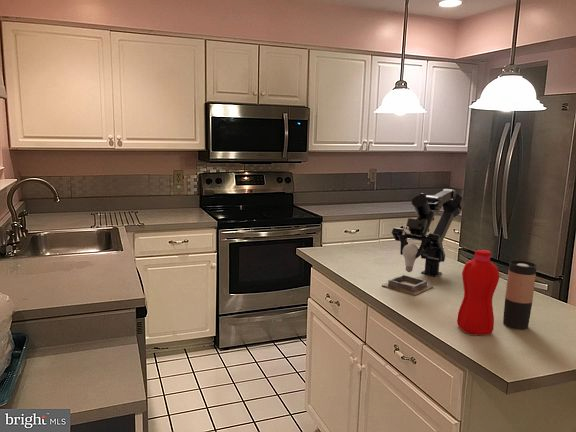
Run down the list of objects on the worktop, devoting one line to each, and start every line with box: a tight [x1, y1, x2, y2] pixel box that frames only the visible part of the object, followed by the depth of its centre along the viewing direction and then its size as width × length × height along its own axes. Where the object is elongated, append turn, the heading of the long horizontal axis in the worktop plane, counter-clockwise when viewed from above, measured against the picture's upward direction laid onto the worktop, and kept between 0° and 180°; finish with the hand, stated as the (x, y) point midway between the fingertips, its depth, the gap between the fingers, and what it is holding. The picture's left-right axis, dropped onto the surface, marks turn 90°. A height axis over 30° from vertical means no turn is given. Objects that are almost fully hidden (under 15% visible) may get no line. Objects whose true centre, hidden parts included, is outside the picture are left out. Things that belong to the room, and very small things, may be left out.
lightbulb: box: [402, 243, 419, 273], centre depth 181 cm, size 6×6×11 cm
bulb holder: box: [381, 274, 434, 297], centre depth 183 cm, size 14×14×2 cm
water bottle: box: [456, 249, 500, 336], centre depth 144 cm, size 9×11×25 cm
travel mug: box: [502, 259, 538, 331], centre depth 148 cm, size 8×8×20 cm
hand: (408, 255), depth 180 cm, fingers closed on lightbulb, 6 cm apart
